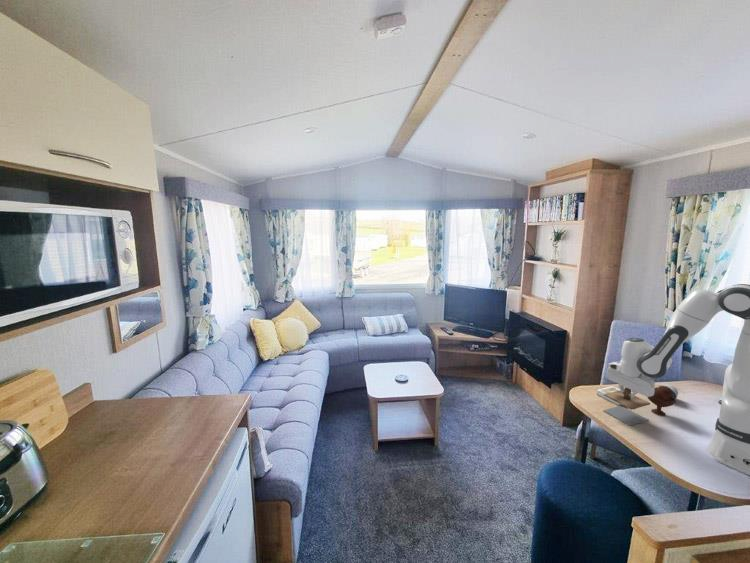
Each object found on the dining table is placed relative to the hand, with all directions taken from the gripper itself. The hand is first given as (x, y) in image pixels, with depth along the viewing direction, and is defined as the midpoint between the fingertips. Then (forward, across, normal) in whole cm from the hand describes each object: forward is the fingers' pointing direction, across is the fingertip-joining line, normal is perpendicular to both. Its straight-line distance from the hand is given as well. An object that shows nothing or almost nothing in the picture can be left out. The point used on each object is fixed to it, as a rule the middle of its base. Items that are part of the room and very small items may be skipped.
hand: (627, 395), depth 153 cm
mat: (+11, 0, 0) cm, 11 cm away
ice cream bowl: (+11, -4, -18) cm, 22 cm away
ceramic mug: (+11, +4, -37) cm, 39 cm away
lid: (+2, 0, 0) cm, 2 cm away
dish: (+11, +13, -12) cm, 21 cm away
